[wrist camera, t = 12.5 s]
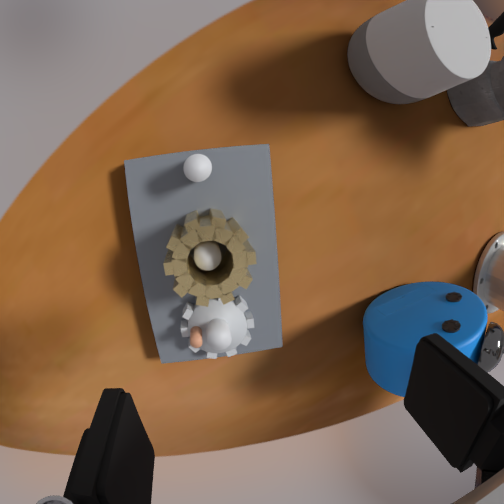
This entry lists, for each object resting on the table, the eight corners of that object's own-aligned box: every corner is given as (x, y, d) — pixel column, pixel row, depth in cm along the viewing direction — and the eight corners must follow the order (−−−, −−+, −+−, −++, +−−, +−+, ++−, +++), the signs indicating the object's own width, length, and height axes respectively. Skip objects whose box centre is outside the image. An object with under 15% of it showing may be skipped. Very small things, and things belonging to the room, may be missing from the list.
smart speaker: (352, 112, 27) (452, 86, 14) (326, 30, 25) (402, -36, 11) (421, 104, 28) (518, 89, 15) (397, 31, 26) (482, -11, 12)
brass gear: (242, 204, 26) (252, 212, 21) (248, 277, 28) (259, 299, 23) (165, 213, 25) (157, 223, 20) (175, 286, 27) (172, 311, 22)
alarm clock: (345, 349, 34) (414, 435, 20) (340, 303, 32) (423, 385, 18) (432, 311, 35) (512, 367, 21) (432, 268, 34) (525, 315, 19)
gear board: (264, 145, 27) (279, 140, 22) (277, 337, 32) (292, 366, 27) (129, 161, 25) (113, 159, 20) (163, 352, 30) (158, 385, 25)
